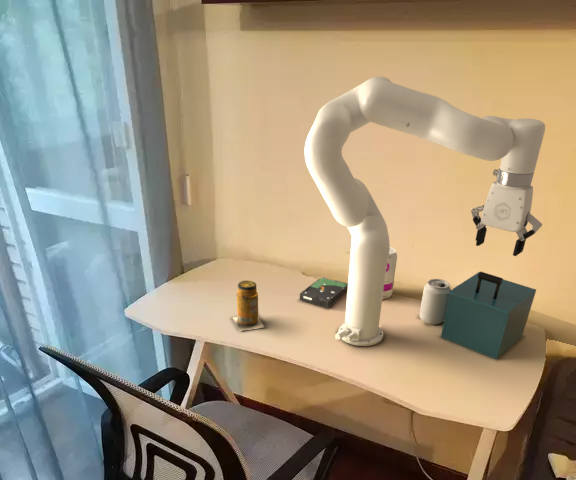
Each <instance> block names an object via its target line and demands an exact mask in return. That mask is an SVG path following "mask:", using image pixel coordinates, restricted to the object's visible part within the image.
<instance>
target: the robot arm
mask: <svg viewBox="0 0 576 480" xmlns="http://www.w3.org/2000/svg"><path fill="white" fill-rule="evenodd" d="M370 123H373V124H376V125H378V126H382V127H386V128H388V129H392V130H395V131H399V132H402V133H405V134H407V135H408V134H409V135H410V136H415V137H418V138H421V139H423V140H426V141H428V142H430V143H433V144H436V145H439V146H442V147H444V148H447V149H449V150H452V151H455V152H458V153H460V154H463V155H466V156H470V157H473V158H476V159H479V160H482V161H487V162H494V161H495V162H496V161H499V160H501V161H500V166H499V168H498V169H493V171H492V175H493V176H495V177H496V180H494V181H493V182H492V184H491V186H490V188H489V191H488V193H487V196H486V200H485V203H484V204H482V205H479V206H476V207H473V208H471V210H470V212H471V216H472V222H473V224H474V225H475V226H476V227H475V228H476V236H475V243H476V244H475V246H476V247H480V246H481V245H483V244H484V243H485V240H486V235H487V231H488V230H487V229H488V228H487V227H490V228H495V229H499V230H502V231H507V232H510V233H516V235H517V237H518V239H517V240H515V244H514V248H513V253H512V256H513V257H517V256H519V255H520V254H521V253H523V252H524V248H525V245H526V241H527V239H529V238H530V237H532V236H533V235H535V234H536V233H537V232H538V231H539V230H540V229H541V228H542V226H543V224H542V222H541V221H539V220H538V219H537V218H536V217H535V216H534V215H533V214H532V213H531V210H532V204H533V195H534V186H533V185H532V183H533V178H534V174H535V170H536V167H537V162H538V160H539V156H540V151H541V148H542V144H543V139H544V136H545V132H546V124H545V122H543V121H542V120H540V119H535V118H517V119H514V118H505V117H500V116H496V115H487V116H483V117H481V116H477V115H475V114H474V115H473V114H471V113H469V112H466V111H463V110H461V109H460V108H457V107H455V106H454V105H452V104H450V102H448V101H446V100H445V99H443V98H441V97H439V96H435V95H432V94H429V93H426V92H422V91H420V90H416V89H413V88H409V87H407V86H403V85H400V84H397V83H394V82H393V81H391V80H390V79H389V78H388V77H385V76H381V75H379V76H373V77H371V78H368V79H367V80H365V81H364V82H361V83H360V84H359V85H357V86H356V87H354V88H353V87H352V88H351V89H350V90H348V91H346V92H344V93H343V94H341V95H339V96H337V97H335V98H334V99H331V100H330V101H328V102H326V103H325V104H324V105H323V106H322V107H321V108H320V109H319V110H318V112H317V114H316V117H315V119H314V121H313V124H312V125H311V128H310V130H309V132H308V134H307V136H306V140H305V142H304V150H303V151H304V161H305V165H306V168H307V171H308V172H309V174H310V176H311V178H312V180H313V181H314V183H315V185H316V187H317V188H318V190H319V192H320V194H321V196H322V198H323V200H324V201H325V204H327V207H328V208H329V210H330V212H331V214H332V217H333V218H334V219H335V221H336V222H337V223H338V224H340V225H341V226H342V227H346V228H347V231H348V232H349V234H350V235H351V237H350V238H351V239H350V240H351V241H350V253H349V267H348V279H347V283H348V290H347V292H346V304H345V316H344V323H343V324H341V326H339V328H338V332H336V333H335V334H334V338H335V340H337V341H340V340H342V341H343V342H345V343H346V344H349V345H353V346H358V347H369V346H374V345H377V344H379V343H380V342H381V341H382V340H383V339H384V331H383V329H382V328H381V326H380V320H381V312H382V305H383V299H382V297H383V289H384V280H385V273H386V267H387V262H388V257H389V250H390V247H391V245H390V243H391V242H390V236H389V229H388V225H387V223H386V221H385V218H384V216H383V215H382V213H381V211H380V209H379V207H378V205H377V203H376V202H375V200H374V198H373V196H372V195H371V192H370V190H369V189H368V187H367V186H366V185H365V183H364V182H363V181H362V180H360V179H358V178H356V177H354V175H353V174H352V172H351V169H350V167H349V166H348V164H347V162H346V161H345V159H344V156H343V152H342V151H343V148H344V146H345V143H346V142H347V141H348V139H349V136H350V135H351V133H353V132H355V131H357V130H358V129H360V128H362V127H364V126H366V125H368V124H370ZM481 212H482V213H481ZM480 213H481V216H480ZM528 223H529V224H530V225H531V226H532V228H530V230H529V231H528V229H527V228H526V227H527V225H528ZM486 226H487V227H486Z"/></svg>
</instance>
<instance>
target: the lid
mask: <svg viewBox="0 0 576 480" xmlns="http://www.w3.org/2000/svg"><path fill="white" fill-rule="evenodd" d="M535 292H536V293H537V289H536V288H532V287H530V286H527V285H523V284H520V283H517V282H513V281H510V280H507V279H504V278H503V277H500V276H497V275H495V274H494V275H493V274H491V273H488V272H484V271H478V272H477V273H475V274H474V275H472V276H471V277H469V278H467V279H466V280H463V282H461V283H459V284H458V285H456V286H455V287H453V288H451V290H450V291H449V294H450V295H453V296H456V297H459V298H462V299H465V300H468V301H471V302H474V303H477V304H479V305H482V306H485V307H488V308H491V309H494V310H497V311H500V312H503V313H505V314H509V313H510V312H512V311H513V310H514V309H515V308H517V307H518V306H519V305H520V304H522V303H523V302H524V301H525V300H527V299H528V298H529V297H530V296H531V295H533V294H534V293H535ZM536 293H535V294H536Z"/></svg>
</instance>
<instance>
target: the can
mask: <svg viewBox="0 0 576 480" xmlns="http://www.w3.org/2000/svg"><path fill="white" fill-rule="evenodd" d="M450 285H451V284H450V282H448V281H447V280H445V279H442V278H432V279H428V280H427V283H426V284H424V287H423V292H422V297H421V302H420V303H421V304H420V309H419V315H418V316H419V319H420V320H421V321H422V322H423V323H425V324H427V325H433V326H434V325H440V324H441V323H444V320H445V315H446V310H447V305H448V300H449V296H450V294H449V291H450V290H452V288H451V287H450Z"/></svg>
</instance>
